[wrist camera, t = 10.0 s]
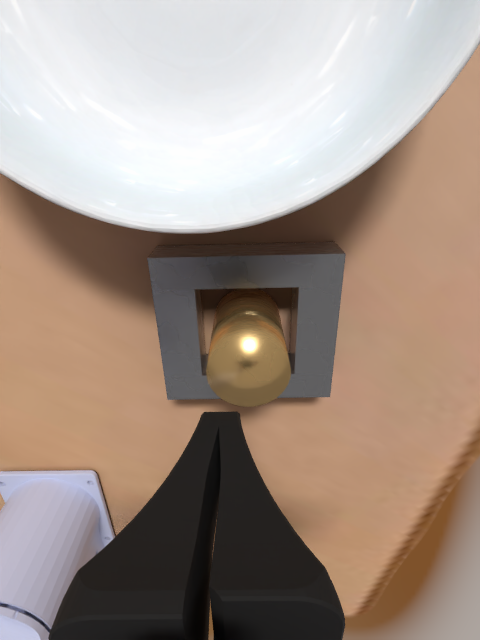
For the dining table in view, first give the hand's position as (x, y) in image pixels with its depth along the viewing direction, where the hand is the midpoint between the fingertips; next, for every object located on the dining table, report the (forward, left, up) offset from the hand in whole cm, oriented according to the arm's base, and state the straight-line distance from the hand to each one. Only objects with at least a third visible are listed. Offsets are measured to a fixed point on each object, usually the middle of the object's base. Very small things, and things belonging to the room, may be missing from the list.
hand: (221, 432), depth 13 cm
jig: (0, -1, -10) cm, 10 cm away
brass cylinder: (0, -1, -10) cm, 10 cm away
